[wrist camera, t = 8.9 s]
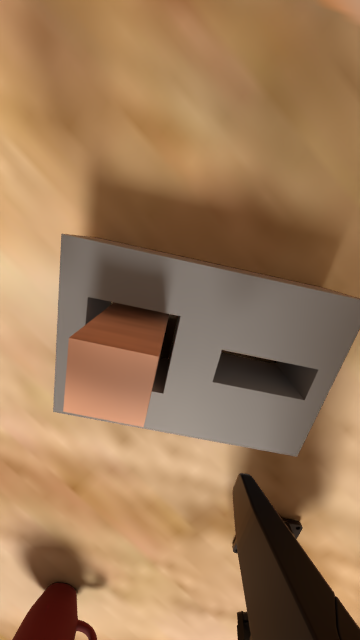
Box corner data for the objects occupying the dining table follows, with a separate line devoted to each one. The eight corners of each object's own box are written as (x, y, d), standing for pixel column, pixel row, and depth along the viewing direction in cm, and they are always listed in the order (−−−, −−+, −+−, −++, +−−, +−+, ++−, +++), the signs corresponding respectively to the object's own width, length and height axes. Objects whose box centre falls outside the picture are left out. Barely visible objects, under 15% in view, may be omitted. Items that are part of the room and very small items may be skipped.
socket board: (272, 410, 22) (297, 456, 17) (83, 373, 21) (53, 411, 16) (322, 287, 18) (372, 302, 13) (95, 237, 17) (61, 233, 12)
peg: (161, 349, 20) (143, 427, 11) (116, 339, 20) (63, 411, 11) (170, 306, 19) (158, 356, 10) (122, 295, 18) (68, 337, 10)
